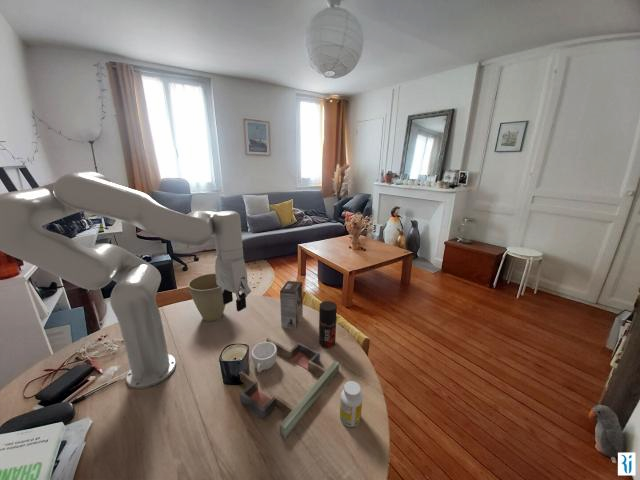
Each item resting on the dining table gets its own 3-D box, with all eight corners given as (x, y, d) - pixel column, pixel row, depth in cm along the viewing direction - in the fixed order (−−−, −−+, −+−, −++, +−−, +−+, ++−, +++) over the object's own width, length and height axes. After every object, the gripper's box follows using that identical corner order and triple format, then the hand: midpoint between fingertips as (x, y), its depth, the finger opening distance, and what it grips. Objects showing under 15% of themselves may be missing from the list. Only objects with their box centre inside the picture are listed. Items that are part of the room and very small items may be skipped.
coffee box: (288, 314, 107) (287, 279, 102) (303, 316, 106) (302, 281, 101) (280, 327, 99) (279, 290, 94) (296, 330, 97) (296, 292, 93)
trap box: (217, 384, 73) (216, 375, 72) (277, 338, 93) (277, 331, 92) (285, 438, 59) (284, 428, 58) (338, 370, 79) (339, 362, 78)
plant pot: (203, 332, 95) (197, 294, 91) (187, 316, 105) (182, 281, 100) (239, 316, 106) (236, 281, 101) (222, 302, 115) (218, 270, 111)
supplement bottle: (341, 428, 62) (343, 398, 59) (337, 408, 67) (339, 379, 64) (363, 426, 62) (366, 396, 59) (358, 406, 67) (360, 377, 64)
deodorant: (321, 349, 88) (322, 311, 83) (316, 338, 93) (317, 302, 89) (337, 346, 89) (339, 309, 85) (332, 335, 95) (333, 300, 90)
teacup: (257, 354, 85) (256, 340, 83) (280, 356, 84) (279, 342, 83) (246, 378, 76) (244, 363, 74) (271, 381, 75) (270, 366, 73)
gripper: (201, 250, 78) (208, 302, 83) (238, 263, 68) (243, 321, 74) (223, 244, 83) (227, 293, 89) (259, 255, 74) (262, 309, 80)
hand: (234, 305), depth 81 cm, fingers open, 5 cm apart
